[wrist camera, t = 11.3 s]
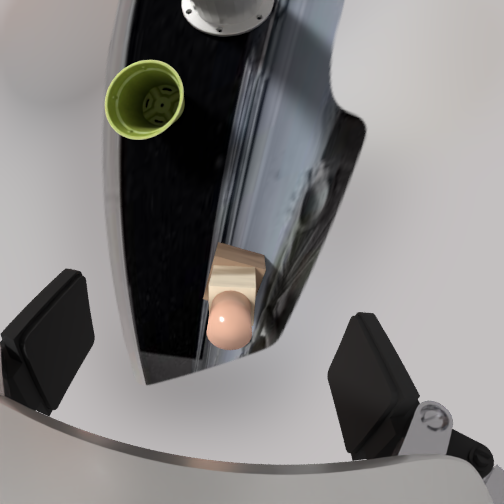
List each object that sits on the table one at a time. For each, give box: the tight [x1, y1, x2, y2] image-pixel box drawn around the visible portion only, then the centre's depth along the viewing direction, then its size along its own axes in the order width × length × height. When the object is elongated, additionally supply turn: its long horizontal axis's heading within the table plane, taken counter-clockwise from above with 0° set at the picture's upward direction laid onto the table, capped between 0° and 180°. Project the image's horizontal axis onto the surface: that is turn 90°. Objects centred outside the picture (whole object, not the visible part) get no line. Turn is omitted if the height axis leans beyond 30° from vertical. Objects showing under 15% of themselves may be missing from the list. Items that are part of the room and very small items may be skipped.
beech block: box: [209, 265, 256, 326], centre depth 38 cm, size 6×6×6 cm
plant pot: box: [105, 60, 184, 140], centre depth 31 cm, size 9×9×9 cm
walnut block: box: [203, 242, 266, 301], centre depth 42 cm, size 7×7×5 cm
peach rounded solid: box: [207, 290, 252, 350], centre depth 33 cm, size 5×5×5 cm
